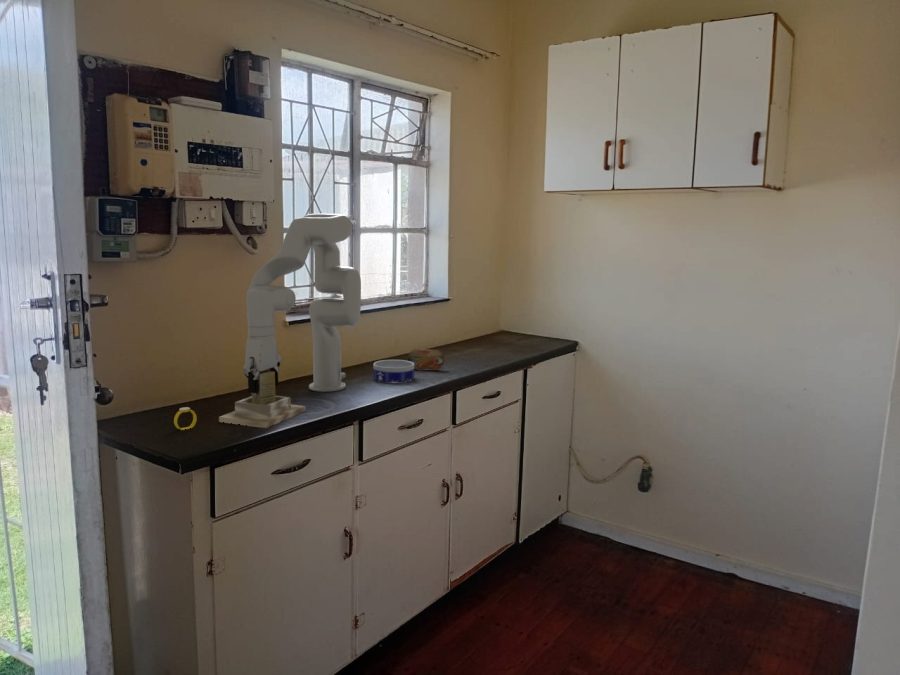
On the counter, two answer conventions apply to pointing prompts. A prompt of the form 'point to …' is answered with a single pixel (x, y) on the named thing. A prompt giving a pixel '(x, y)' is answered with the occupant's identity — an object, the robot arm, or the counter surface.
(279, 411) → the socket board
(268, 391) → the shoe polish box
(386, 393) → the counter surface
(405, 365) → the dog bowl
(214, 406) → the counter surface
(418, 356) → the food package
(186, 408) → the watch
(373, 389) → the counter surface
